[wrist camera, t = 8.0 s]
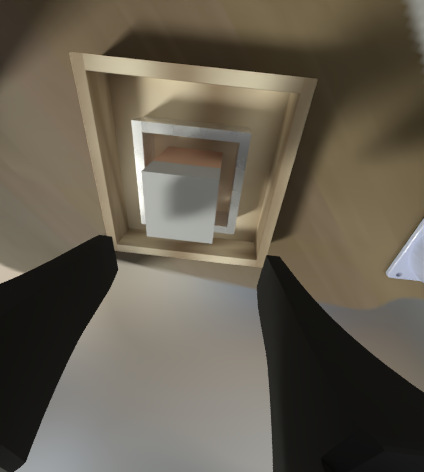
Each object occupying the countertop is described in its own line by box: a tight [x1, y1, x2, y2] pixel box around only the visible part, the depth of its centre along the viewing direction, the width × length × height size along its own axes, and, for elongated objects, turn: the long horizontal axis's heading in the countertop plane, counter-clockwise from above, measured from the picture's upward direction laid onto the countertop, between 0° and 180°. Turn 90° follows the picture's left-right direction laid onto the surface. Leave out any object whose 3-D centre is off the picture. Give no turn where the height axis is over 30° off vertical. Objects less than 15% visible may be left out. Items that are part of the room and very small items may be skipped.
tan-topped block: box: [141, 146, 223, 244], centre depth 15 cm, size 4×4×6 cm
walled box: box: [69, 52, 318, 268], centre depth 16 cm, size 13×13×3 cm
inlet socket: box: [131, 116, 251, 234], centre depth 16 cm, size 7×7×2 cm
